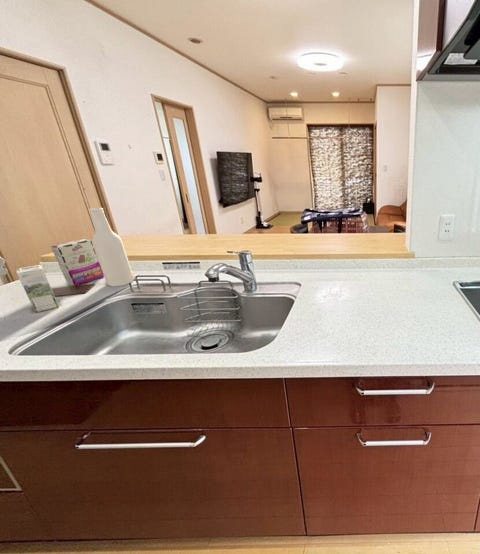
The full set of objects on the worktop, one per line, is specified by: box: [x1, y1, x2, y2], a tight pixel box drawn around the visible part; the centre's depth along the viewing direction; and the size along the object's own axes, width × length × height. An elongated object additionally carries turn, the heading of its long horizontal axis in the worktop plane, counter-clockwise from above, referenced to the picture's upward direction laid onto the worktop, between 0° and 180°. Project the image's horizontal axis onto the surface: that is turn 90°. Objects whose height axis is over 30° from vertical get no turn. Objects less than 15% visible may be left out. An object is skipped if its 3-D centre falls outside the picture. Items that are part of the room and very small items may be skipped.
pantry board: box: [51, 282, 96, 298], centre depth 112 cm, size 14×9×1 cm, turn 112°
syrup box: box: [15, 264, 60, 314], centre depth 98 cm, size 6×6×14 cm
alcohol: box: [88, 207, 135, 287], centre depth 115 cm, size 9×9×30 cm
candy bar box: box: [50, 238, 105, 286], centre depth 119 cm, size 11×5×16 cm, turn 163°
